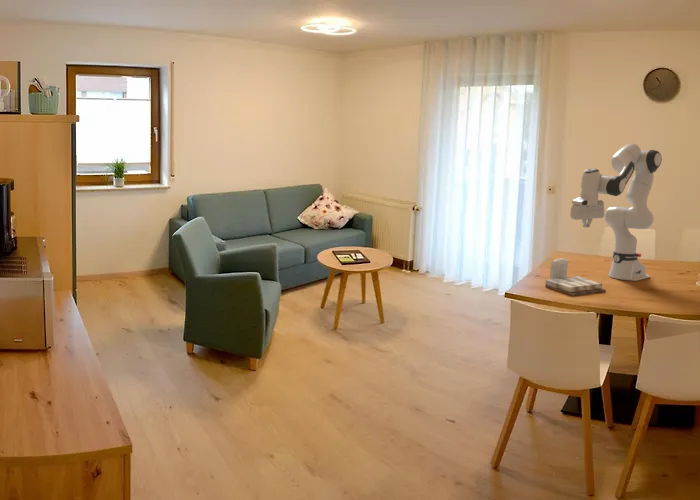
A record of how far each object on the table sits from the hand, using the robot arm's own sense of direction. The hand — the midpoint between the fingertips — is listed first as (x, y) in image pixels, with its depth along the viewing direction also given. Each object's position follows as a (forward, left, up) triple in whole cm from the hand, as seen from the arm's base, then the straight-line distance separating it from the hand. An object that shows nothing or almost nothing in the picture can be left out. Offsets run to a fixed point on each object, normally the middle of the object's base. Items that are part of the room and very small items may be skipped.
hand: (586, 227), depth 359 cm
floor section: (+9, +5, -31) cm, 33 cm away
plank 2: (+4, +8, -30) cm, 31 cm away
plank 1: (+14, +8, -30) cm, 34 cm away
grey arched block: (+5, -12, -31) cm, 34 cm away
